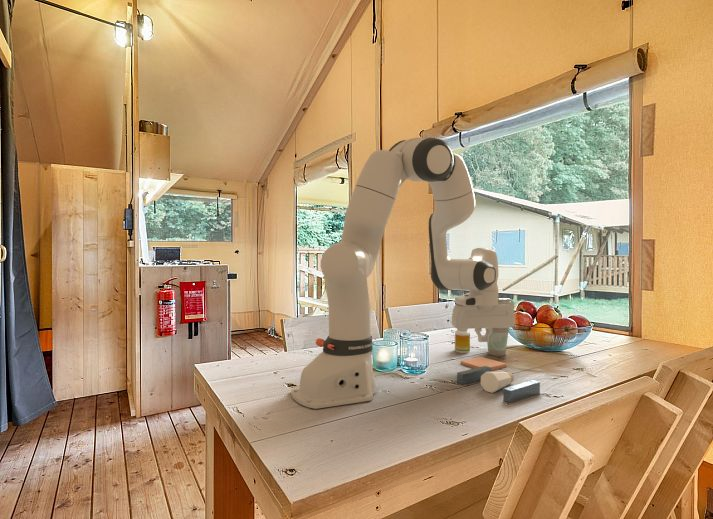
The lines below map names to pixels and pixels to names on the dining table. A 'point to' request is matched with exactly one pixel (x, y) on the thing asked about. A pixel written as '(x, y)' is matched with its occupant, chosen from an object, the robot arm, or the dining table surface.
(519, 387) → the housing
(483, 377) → the pepper shaker
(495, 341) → the coffee cup
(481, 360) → the mat
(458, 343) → the supplement bottle
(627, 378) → the dining table surface
